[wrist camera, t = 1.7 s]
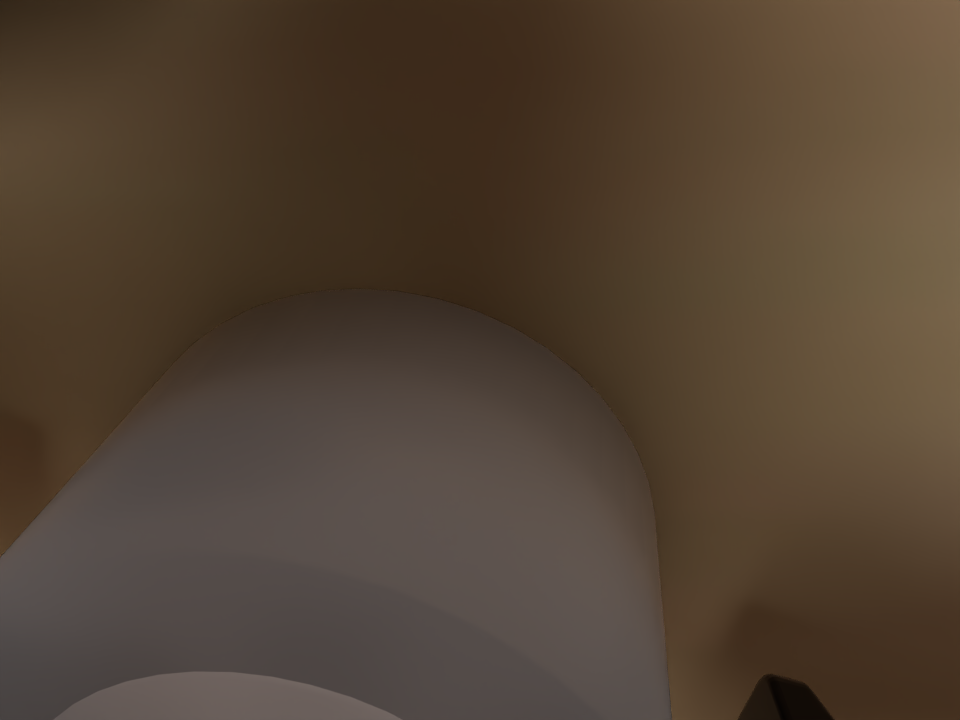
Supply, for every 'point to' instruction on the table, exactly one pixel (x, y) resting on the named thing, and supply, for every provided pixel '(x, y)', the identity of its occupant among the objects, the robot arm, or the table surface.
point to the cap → (346, 535)
